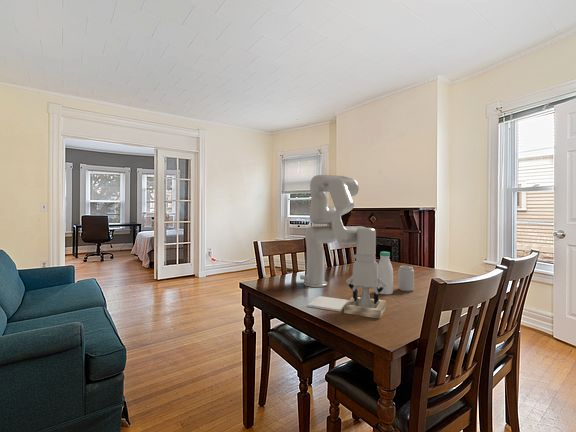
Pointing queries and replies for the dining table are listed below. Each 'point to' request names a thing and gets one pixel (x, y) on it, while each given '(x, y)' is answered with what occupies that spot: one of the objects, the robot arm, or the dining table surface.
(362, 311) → the holder
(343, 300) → the plate
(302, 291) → the dining table surface
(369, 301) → the flask
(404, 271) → the can
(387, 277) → the milk bottle
